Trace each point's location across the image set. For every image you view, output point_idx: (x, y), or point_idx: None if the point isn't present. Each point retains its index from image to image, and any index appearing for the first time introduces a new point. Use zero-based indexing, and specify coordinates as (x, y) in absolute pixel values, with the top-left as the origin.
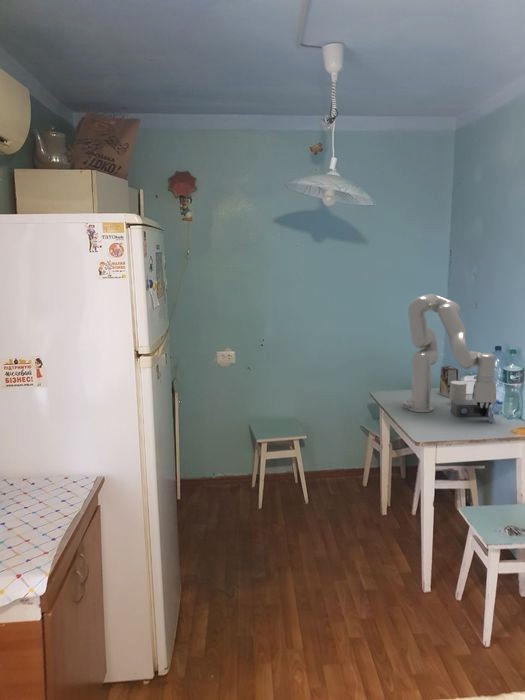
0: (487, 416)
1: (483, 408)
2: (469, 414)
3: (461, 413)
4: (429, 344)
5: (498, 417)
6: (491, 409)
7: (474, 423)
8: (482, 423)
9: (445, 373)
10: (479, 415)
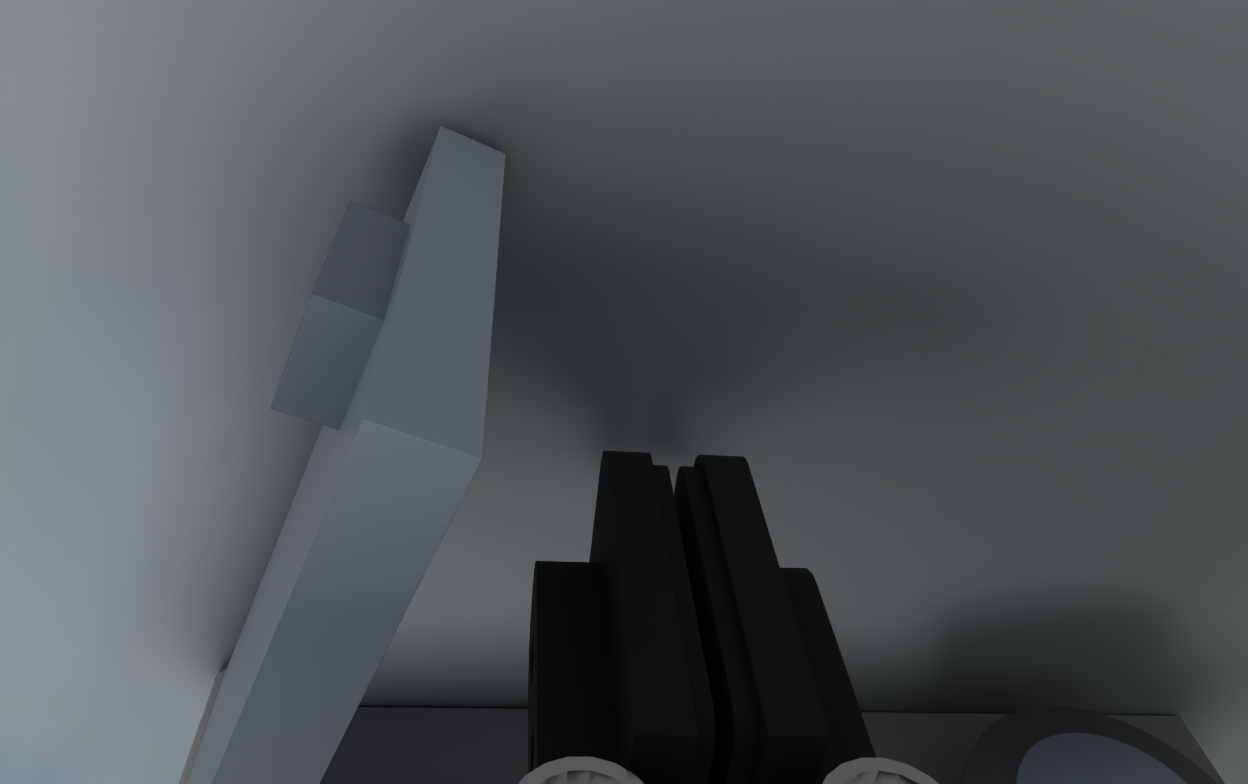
0: None
1: (778, 729)
2: None
3: (1148, 754)
4: None
5: (5, 649)
6: (324, 625)
7: (1104, 122)
8: (805, 105)
9: None
10: None
